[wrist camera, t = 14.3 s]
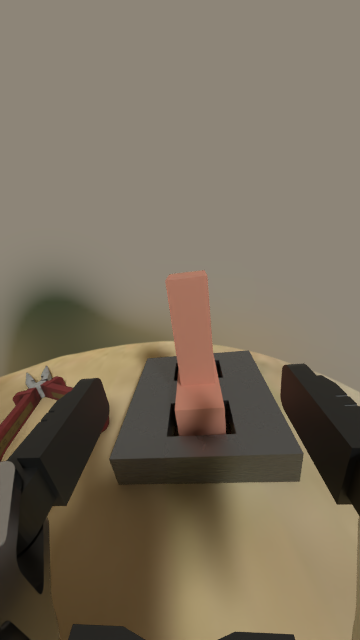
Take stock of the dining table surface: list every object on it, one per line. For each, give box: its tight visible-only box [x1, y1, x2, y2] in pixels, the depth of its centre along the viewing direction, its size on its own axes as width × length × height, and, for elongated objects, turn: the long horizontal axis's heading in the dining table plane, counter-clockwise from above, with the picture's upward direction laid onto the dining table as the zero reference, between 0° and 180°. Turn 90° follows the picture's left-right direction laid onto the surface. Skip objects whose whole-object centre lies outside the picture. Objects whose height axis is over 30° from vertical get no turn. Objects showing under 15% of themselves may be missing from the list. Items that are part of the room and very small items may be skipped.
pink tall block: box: [166, 270, 226, 436], centre depth 19 cm, size 4×9×15 cm, turn 177°
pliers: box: [0, 366, 109, 462], centre depth 26 cm, size 12×20×3 cm, turn 39°
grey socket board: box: [109, 351, 303, 484], centre depth 21 cm, size 14×14×3 cm
